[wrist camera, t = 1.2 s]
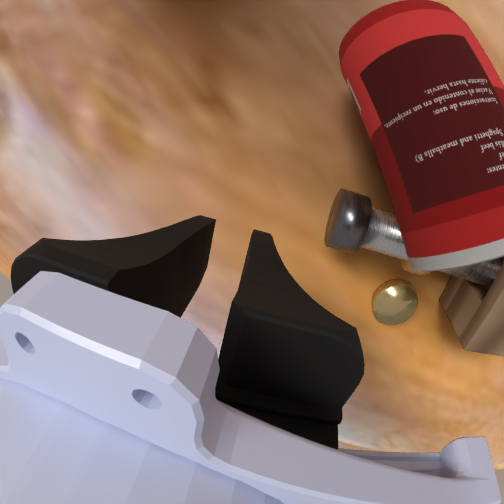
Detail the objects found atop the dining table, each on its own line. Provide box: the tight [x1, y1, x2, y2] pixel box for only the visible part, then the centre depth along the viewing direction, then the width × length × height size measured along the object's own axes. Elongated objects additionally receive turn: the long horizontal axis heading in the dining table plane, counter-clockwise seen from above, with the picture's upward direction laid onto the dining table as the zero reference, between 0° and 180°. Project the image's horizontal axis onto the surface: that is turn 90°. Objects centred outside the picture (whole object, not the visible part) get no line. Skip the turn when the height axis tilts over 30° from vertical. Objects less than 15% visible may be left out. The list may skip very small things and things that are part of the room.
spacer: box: [372, 279, 418, 325], centre depth 23 cm, size 4×4×1 cm
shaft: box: [325, 188, 504, 287], centre depth 18 cm, size 13×4×4 cm, turn 78°
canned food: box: [339, 0, 504, 271], centre depth 12 cm, size 8×8×11 cm
